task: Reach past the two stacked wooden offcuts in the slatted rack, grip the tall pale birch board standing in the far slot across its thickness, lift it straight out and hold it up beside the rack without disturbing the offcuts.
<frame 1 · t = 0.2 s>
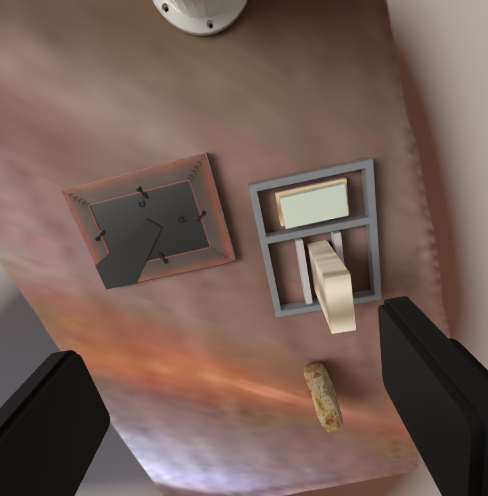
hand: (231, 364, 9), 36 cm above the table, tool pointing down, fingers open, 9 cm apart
picture frame: (156, 222, 47), on the table
tan rounded piece: (318, 372, 56), on the table
upper offcut: (311, 203, 43), point 1 cm above the table, touching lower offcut
birch board: (319, 264, 48), on the table
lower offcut: (310, 200, 45), on the table, touching upper offcut
rack: (316, 241, 46), on the table
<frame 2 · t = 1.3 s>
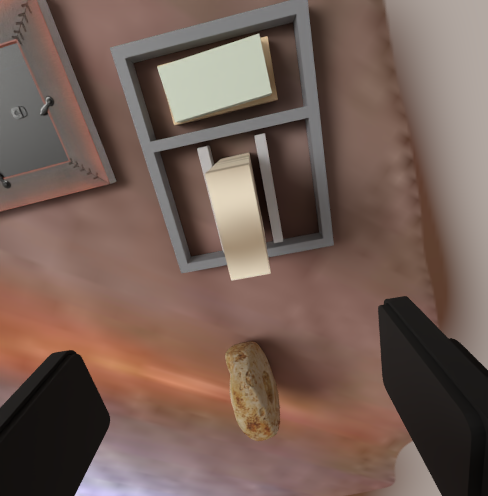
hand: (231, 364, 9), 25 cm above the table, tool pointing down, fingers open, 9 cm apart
tan rounded piece: (254, 356, 40), on the table
upper offcut: (217, 83, 27), point 1 cm above the table, touching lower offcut
birch board: (243, 193, 32), on the table
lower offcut: (220, 85, 29), on the table, touching upper offcut
rack: (234, 155, 31), on the table
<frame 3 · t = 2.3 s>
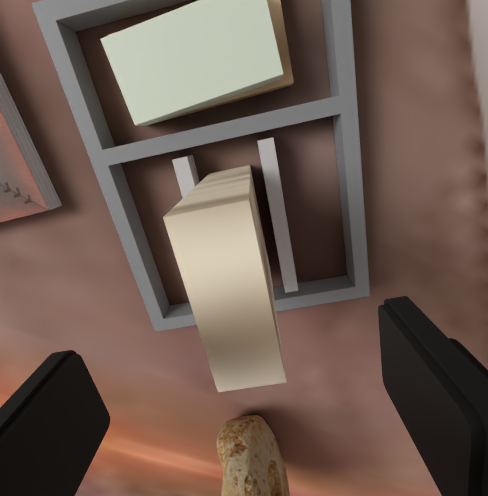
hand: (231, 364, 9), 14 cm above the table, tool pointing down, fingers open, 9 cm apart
tan rounded piece: (257, 428, 31), on the table
upper offcut: (199, 64, 18), point 1 cm above the table, touching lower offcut
birch board: (241, 222, 23), on the table
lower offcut: (207, 66, 19), on the table, touching upper offcut
rack: (229, 169, 21), on the table
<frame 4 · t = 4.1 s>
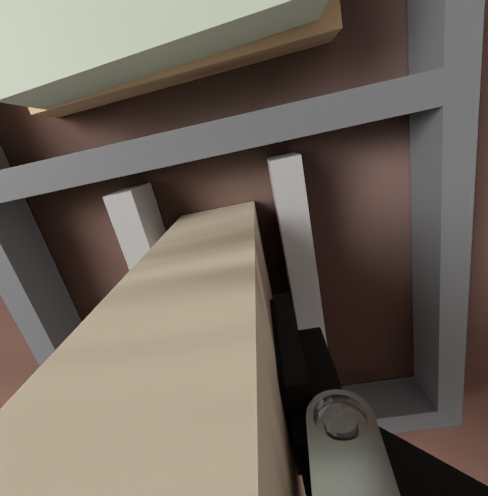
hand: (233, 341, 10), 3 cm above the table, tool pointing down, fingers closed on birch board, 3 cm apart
birch board: (238, 295, 13), on the table, touching gripper
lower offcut: (169, 4, 10), on the table, touching upper offcut
rack: (216, 208, 12), on the table
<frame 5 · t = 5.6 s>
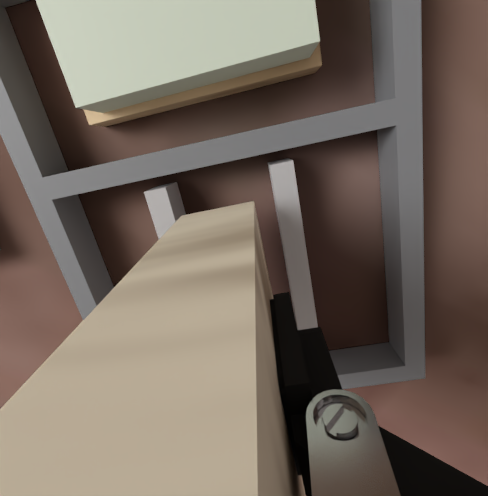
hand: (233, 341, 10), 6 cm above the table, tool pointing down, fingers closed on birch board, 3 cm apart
upper offcut: (186, 23, 11), point 1 cm above the table, touching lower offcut
birch board: (238, 295, 13), point 3 cm above the table, touching gripper
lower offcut: (193, 42, 13), on the table, touching upper offcut
rack: (228, 202, 15), on the table
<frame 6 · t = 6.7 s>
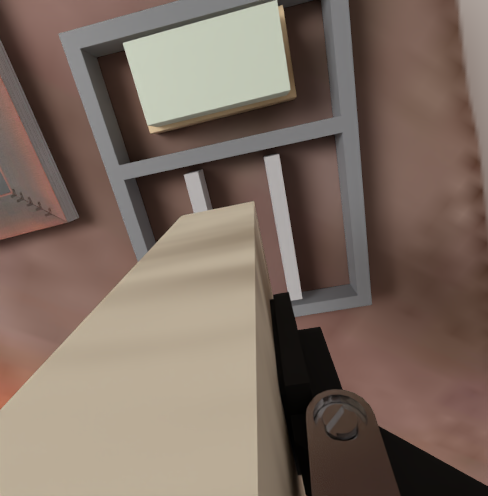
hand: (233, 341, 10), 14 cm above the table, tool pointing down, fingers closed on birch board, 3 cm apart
upper offcut: (212, 74, 19), point 1 cm above the table, touching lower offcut
birch board: (238, 295, 13), point 11 cm above the table, touching gripper
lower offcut: (215, 79, 21), on the table, touching upper offcut
rack: (237, 183, 22), on the table
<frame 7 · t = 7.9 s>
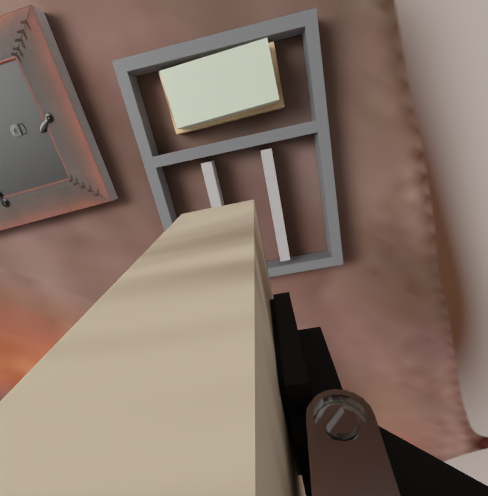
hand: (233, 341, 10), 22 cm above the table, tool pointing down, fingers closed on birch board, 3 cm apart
upper offcut: (222, 89, 26), point 1 cm above the table, touching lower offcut
birch board: (238, 293, 13), point 18 cm above the table, touching gripper
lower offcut: (224, 93, 28), on the table, touching upper offcut
rack: (240, 170, 29), on the table
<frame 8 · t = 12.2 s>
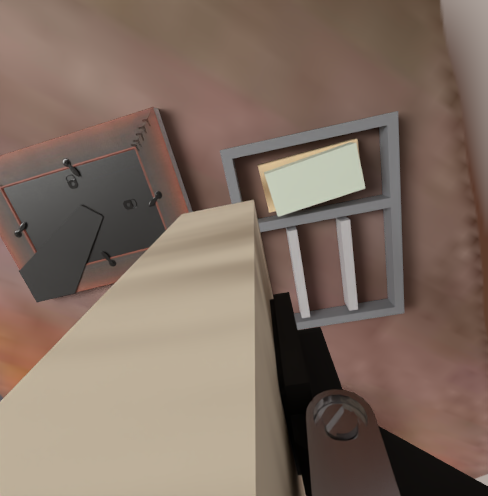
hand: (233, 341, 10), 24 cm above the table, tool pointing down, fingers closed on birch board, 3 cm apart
picture frame: (99, 211, 35), on the table
upper offcut: (311, 178, 30), point 1 cm above the table, touching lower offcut
birch board: (238, 293, 13), point 21 cm above the table, touching gripper
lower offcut: (307, 175, 32), on the table, touching upper offcut
rack: (316, 233, 34), on the table
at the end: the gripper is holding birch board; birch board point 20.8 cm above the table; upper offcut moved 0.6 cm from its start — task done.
